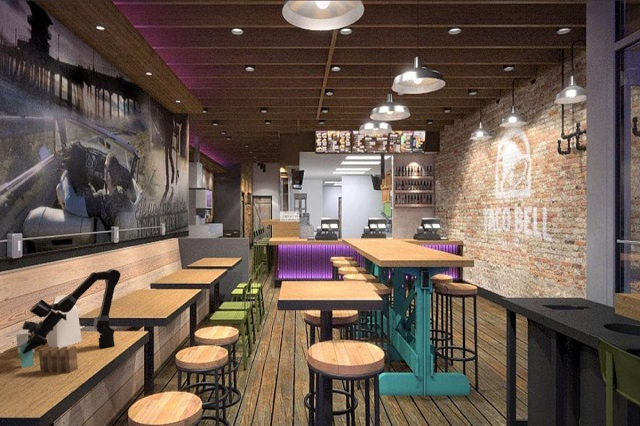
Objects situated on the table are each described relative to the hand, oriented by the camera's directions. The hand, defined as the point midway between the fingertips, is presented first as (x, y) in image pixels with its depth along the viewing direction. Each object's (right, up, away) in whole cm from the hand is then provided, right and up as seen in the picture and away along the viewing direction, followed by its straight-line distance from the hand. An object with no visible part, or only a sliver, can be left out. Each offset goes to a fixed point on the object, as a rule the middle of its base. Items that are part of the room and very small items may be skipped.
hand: (22, 352), depth 191 cm
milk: (-1, -6, +33) cm, 33 cm away
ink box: (-11, -7, +18) cm, 22 cm away
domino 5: (+28, -5, -9) cm, 30 cm away
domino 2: (+15, -6, -7) cm, 18 cm away
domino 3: (+20, -5, -8) cm, 22 cm away
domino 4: (+24, -5, -9) cm, 26 cm away
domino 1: (+1, -6, +1) cm, 7 cm away
